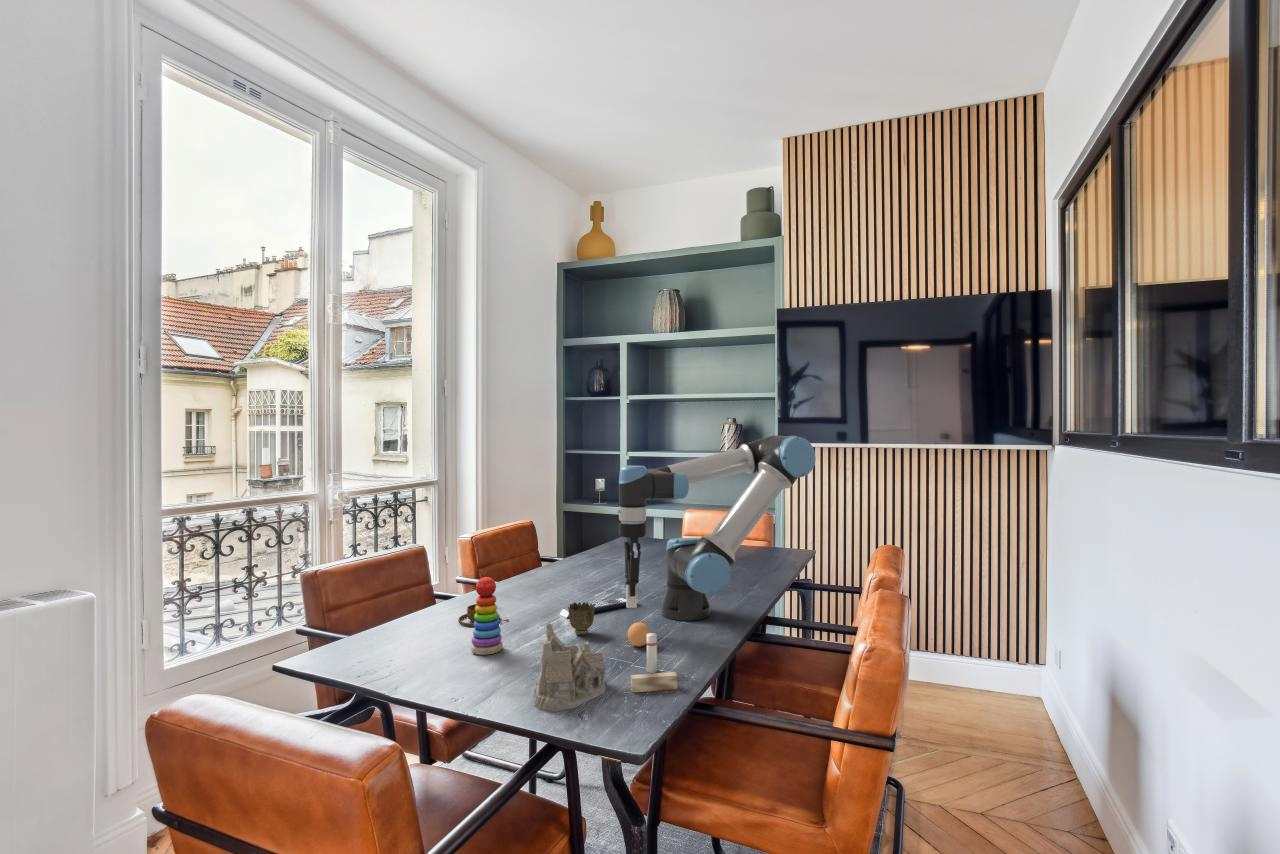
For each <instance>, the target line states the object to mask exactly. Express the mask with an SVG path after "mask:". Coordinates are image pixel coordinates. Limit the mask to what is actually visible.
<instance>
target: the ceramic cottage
mask: <svg viewBox="0 0 1280 854" xmlns="http://www.w3.org/2000/svg"><path fill="white" fill-rule="evenodd" d="M545 628H546V630H545V632H546V638H547V639H546V640H545V641H544V642H543V645H542V651H541V656H540V673H539V676H538V680H537V681H536V683H535V685H534V689H533V693H534V694H533V706H534V707H535V708H536V709H538V710H539V711H540V710H541V711H543V712H560V711H567V710H573V709H575V708H578V707H579V706H581V705H583V704H585V703H586V702H587V703H588V702H589V701H591V700H592V699H595V698H597V697H599V696H600V695H602V694H604V693H605V692H606V691H607V689H606V684H605V681H604V680H605V675H606V667H605V662H604V654H603V652H602V651H598V652H591V649H590V648H591V646H590V642H589V641H584V642H583V647H582V646H581V645H580V644H579V643H576V644H575V645H565V643H563V642H562V641H561V640H560V638H559V637H558V636H557V634H556V632H555V631H554V628H553V624H552V622H548V623H546V627H545Z"/></svg>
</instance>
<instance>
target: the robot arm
mask: <svg viewBox="0 0 1280 854" xmlns="http://www.w3.org/2000/svg"><path fill="white" fill-rule="evenodd" d="M815 464H816V452H815V449H814V447H813V445H812V444H811V442H810V441H808V440H807V439H806V438H804V437H800V436H797V435H787V436H786V435H769V436H767V437H766V436H765V437H763V438H759V439H756V440H753V441H749V442H745V443H742V444H741V445H739V448H735V449H732V450H726V451H723V452H719V453H715V454H711V455H705V456H702V457H698V458H693V459H690V460H685V461H681V462H678V463H674V464H668V465H666V466H661V467H657V468H647V467H646V466H645V465H623V466H621V468H619V476H618V477H619V479H618V488H619V489H618V493H619V495H618V496H619V497H618V500H619V502H618V508H619V509H617V510H616V513H617V514H618V520H619V523H618V535H619V537H621V538H625V542H624V543H623V547H624V548H623V549H624V571H625V572H624V573H625V574H624V578H625V581H624V583H625V585H626V590H625V591H626V595H625V597H626V598H625V599H626V605H625V606H626V608H627V609H632V608H634V609H636V608H637V607H638V584H639V581H640V580H639V579H640V565H641V564H640V563H641V562H640V561H641V555H642V554H641V553H642V552H641V543H639V538H643V537H645V536H646V535H647V523H646V520H647V501H648V500H649V501H651V500H673V501H676V500H682V499H683V500H684V499H686V497H687V496H688V494H689V489H690V486H693V485H697V484H701V483H705V482H710V481H713V480H718V479H722V478H725V477H730V476H734V475H738V474H743V473H746V474H748V475H750V474H755V473H756V474H755V476H754V477H753V479H751V481H750V482H749V484H748V485H747V486H746V487H745V489H744V490H743V492H742V493H741V494H740V496H738V498H737V499H736V501H735V502H734V503H733V505H732V506H731V507H730V508H729V510H728V511H727V512H726V514H725V515H724V516H723V518H721V520H720V522H719V523H718V524H717V526H716V527H715V528H714V530H712V532H711V533H710V534H707V535H702V536H701V537H677V538H670V539H669V540H667V543H666V549H665V552H666V589H665V592H664V595H663V599H662V602H661V605H660V614H661V615H662V616H664V617H665V618H667V619H672V620H676V621H698V620H703V619H706V617H707V618H708V617H710V616H711V613H712V612H711V611H712V610H711V604H710V601H709V597H708V595H711V594H716V593H718V592H719V591H722V590H723V589H724V588H725V587H726V586H727V584H728V583H729V581H730V578H731V568H732V567H733V565H734V564H735V562H736V556H735V554H736V553H737V550H739V548H740V547H741V545H742V544H743V543H744V541H745V540H746V539H747V537H748V536H749V534H751V532H752V531H753V529H754V528H755V527H756V525H757V524H758V523H759V521H760V520H761V518H762V517H763V516H764V515H765V513H766V512H767V510H768V509H769V508H770V507H771V505H772V504H773V503H774V501H775V500H776V499H777V497H778V496H779V495H780V494H781V492H782V490H785V489H790V488H792V486H793V485H794V483H796V481H797V479H799V478H803V477H806V476H807V475H809V474H811V472H812V471H813V470H814V467H815ZM709 615H710V616H709Z"/></svg>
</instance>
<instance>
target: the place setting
mask: <svg viewBox="0 0 1280 854" xmlns="http://www.w3.org/2000/svg"><path fill="white" fill-rule="evenodd" d="M477 605H478V604H477V603H475V604H471V605H468V606H467V608H466V613H465V614H462V615H461V616H459V617H458V623H460V624H461V625H460V624H459V625H460V626H462V625H463V627H466V626H469V628H475V627H474V622H475V621H476V620H475V618H474V615H475V613H476V611H475V607H476V606H477ZM467 617H468V618H467ZM464 618H465V619H468V620H470V621H471V623H470V622H464V621H463V620H465V619H464ZM500 618H501V615H500V613H498V619H499V620H500ZM462 619H463V620H462ZM461 620H462V621H461ZM472 621H473V622H472ZM502 621H507V623H509V621H510V619H508V618H507V619H503V620H502Z"/></svg>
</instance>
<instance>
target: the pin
mask: <svg viewBox="0 0 1280 854" xmlns="http://www.w3.org/2000/svg"><path fill="white" fill-rule="evenodd" d="M657 637H658V635H657V633H654V632H650V633H648V634H647V641H646V644H645V645H646V672H647V673H648V674H652V673H658V672H657V671H658V639H657Z"/></svg>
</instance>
